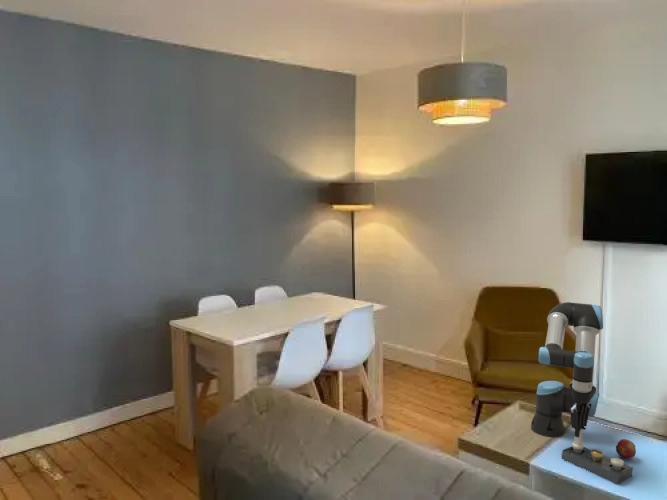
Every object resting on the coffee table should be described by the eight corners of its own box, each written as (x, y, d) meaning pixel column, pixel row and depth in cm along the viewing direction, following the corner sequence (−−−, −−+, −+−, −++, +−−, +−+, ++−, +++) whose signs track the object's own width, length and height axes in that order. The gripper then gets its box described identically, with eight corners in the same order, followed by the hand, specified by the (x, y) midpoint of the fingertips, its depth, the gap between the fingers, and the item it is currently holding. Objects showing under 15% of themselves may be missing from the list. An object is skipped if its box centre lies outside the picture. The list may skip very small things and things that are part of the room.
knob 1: (568, 456, 234) (569, 443, 233) (575, 453, 236) (576, 440, 236) (578, 460, 230) (579, 447, 229) (585, 457, 233) (586, 444, 232)
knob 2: (607, 473, 220) (608, 459, 219) (613, 470, 222) (614, 456, 222) (618, 478, 216) (619, 464, 215) (625, 475, 219) (626, 461, 218)
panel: (561, 459, 233) (562, 450, 233) (576, 452, 239) (577, 444, 239) (617, 484, 213) (618, 474, 213) (632, 476, 220) (632, 467, 219)
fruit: (634, 464, 230) (636, 446, 229) (614, 459, 234) (615, 441, 233) (635, 457, 237) (637, 439, 236) (615, 452, 241) (617, 434, 240)
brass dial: (588, 457, 226) (589, 450, 226) (594, 455, 229) (595, 447, 229) (598, 462, 223) (599, 454, 223) (604, 459, 225) (605, 451, 225)
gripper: (581, 395, 223) (577, 450, 226) (598, 389, 231) (594, 443, 233) (564, 389, 230) (560, 443, 232) (582, 384, 237) (578, 436, 239)
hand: (577, 443), depth 233 cm, fingers closed
